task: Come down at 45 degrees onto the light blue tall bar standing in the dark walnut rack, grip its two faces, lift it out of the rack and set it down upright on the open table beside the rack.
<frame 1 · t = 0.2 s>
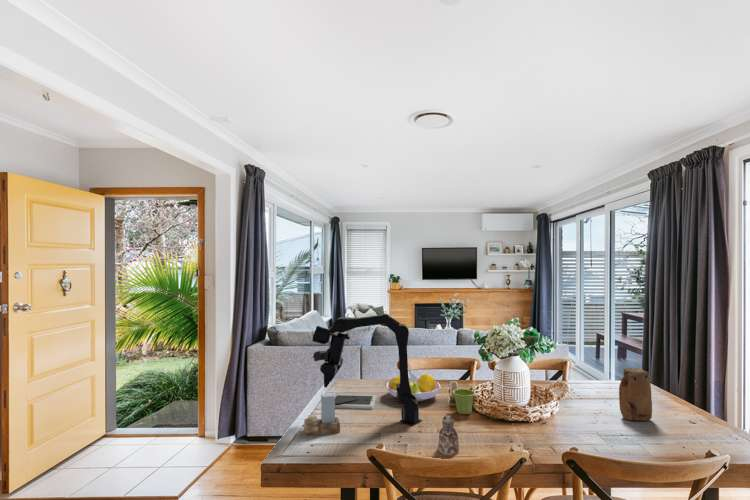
hand: (327, 384, 171), 15 cm above the table, tool pointing down, fingers open, 9 cm apart
rack: (328, 430, 161), on the table
plant pot: (464, 412, 179), on the table
fruit bowl: (412, 398, 199), on the table
figurine: (448, 451, 142), on the table
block: (635, 419, 169), on the table
offcut stack: (311, 431, 159), resting on rack
picture frame: (352, 404, 193), on the table
light blue tall bar: (328, 412, 161), in the rack
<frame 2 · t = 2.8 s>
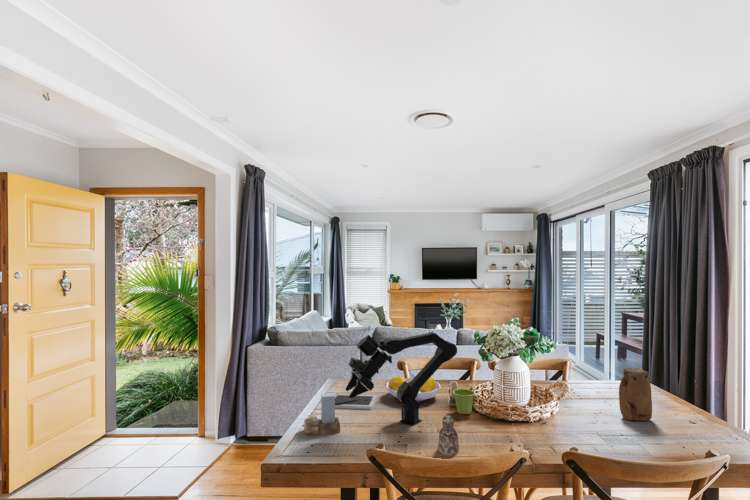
hand: (347, 393, 163), 13 cm above the table, tool tilted 45°, fingers open, 9 cm apart
nothing on the table moved.
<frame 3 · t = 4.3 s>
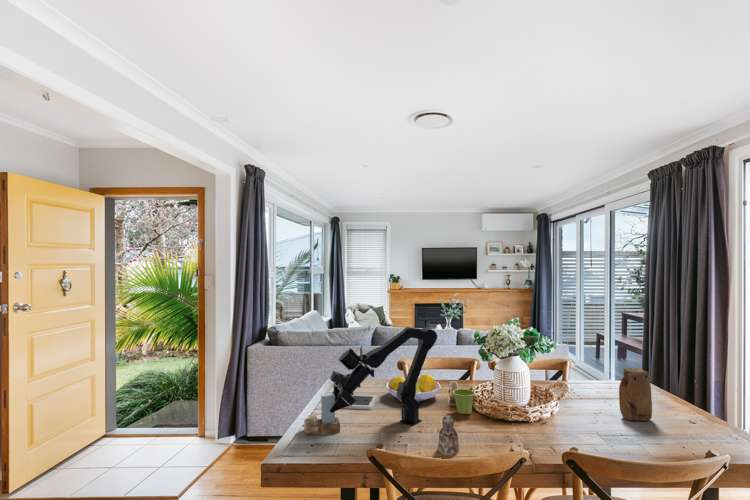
hand: (329, 407, 161), 9 cm above the table, tool tilted 45°, fingers open, 9 cm apart
nothing on the table moved.
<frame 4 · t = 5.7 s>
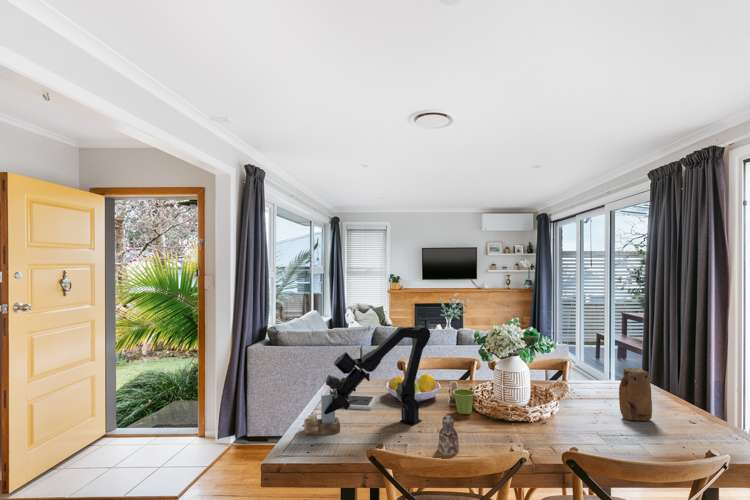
hand: (324, 412, 161), 7 cm above the table, tool tilted 45°, fingers closed on light blue tall bar, 3 cm apart
light blue tall bar: (328, 412, 161), in the rack, touching gripper
everything else where it was.
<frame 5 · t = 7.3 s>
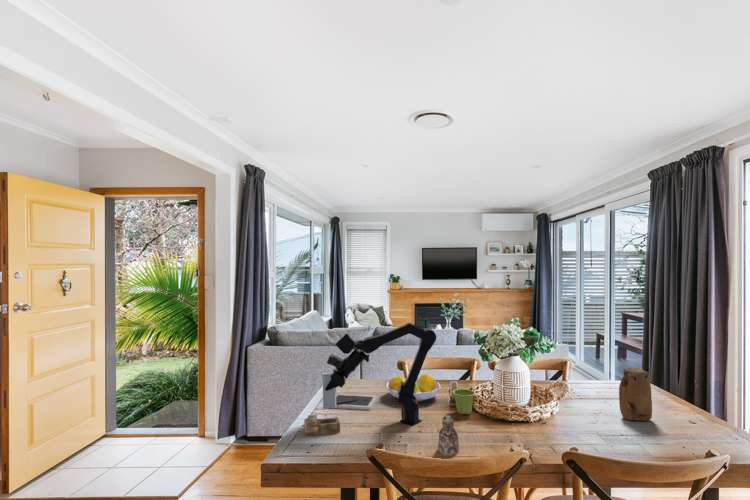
hand: (326, 388, 170), 13 cm above the table, tool tilted 45°, fingers closed on light blue tall bar, 3 cm apart
light blue tall bar: (329, 389, 170), point 13 cm above the table, touching gripper
everything else where it was.
when the fingers open (8 cm above the table, at t = 9.0 s): light blue tall bar stays where it is, on the table.
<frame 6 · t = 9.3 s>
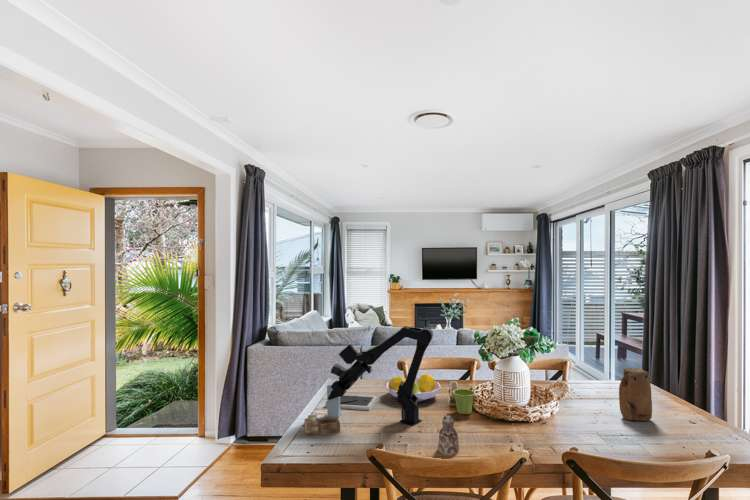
hand: (330, 397, 176), 8 cm above the table, tool tilted 45°, fingers open, 6 cm apart
light blue tall bar: (333, 400, 176), on the table
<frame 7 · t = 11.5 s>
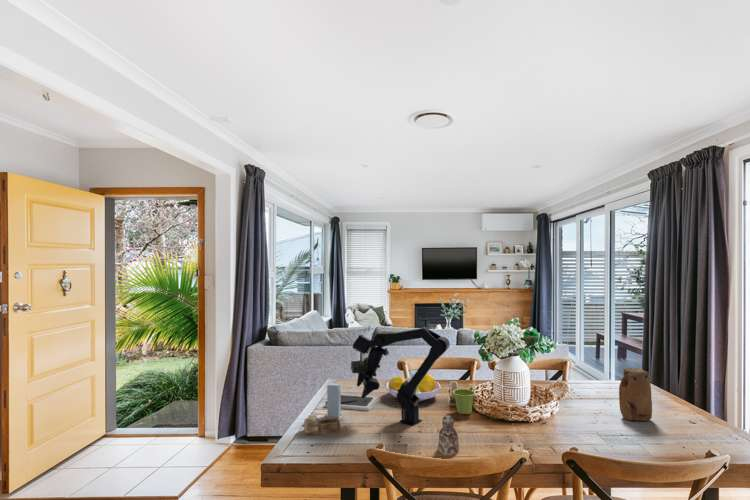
hand: (360, 391, 177), 10 cm above the table, tool tilted 25°, fingers open, 9 cm apart
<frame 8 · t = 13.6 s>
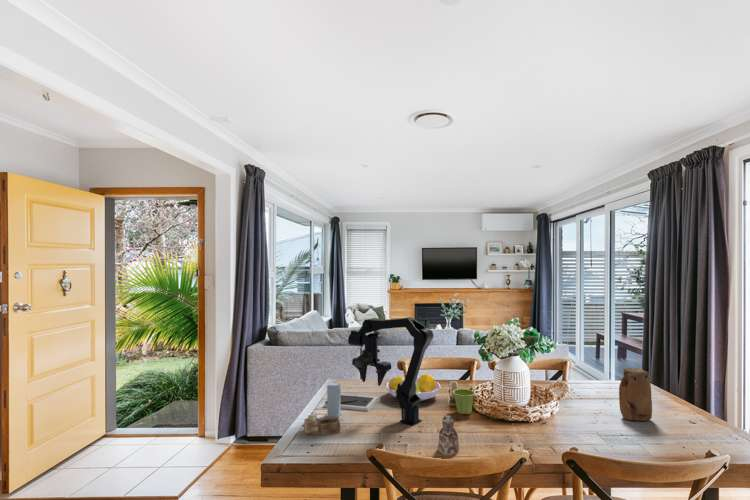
hand: (371, 383, 178), 13 cm above the table, tool pointing down, fingers open, 9 cm apart
at the end: light blue tall bar inside the target area (0.1 cm from its centre), on the table; light blue tall bar touching table; the gripper is holding nothing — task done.
